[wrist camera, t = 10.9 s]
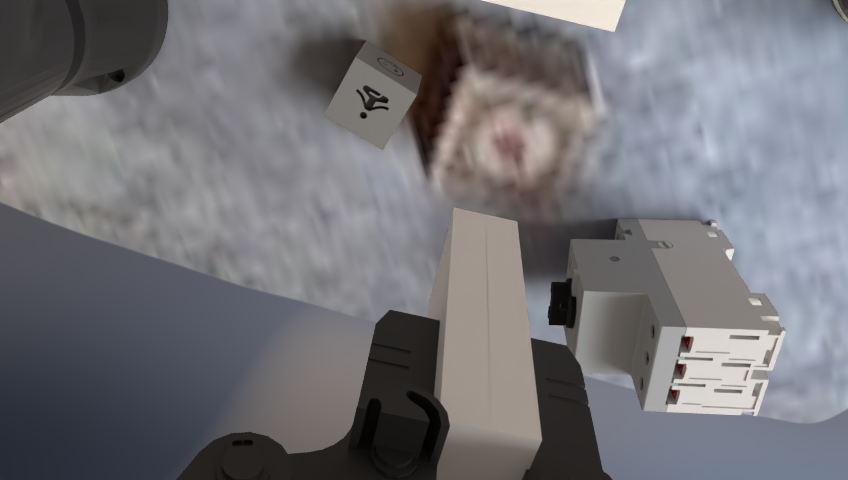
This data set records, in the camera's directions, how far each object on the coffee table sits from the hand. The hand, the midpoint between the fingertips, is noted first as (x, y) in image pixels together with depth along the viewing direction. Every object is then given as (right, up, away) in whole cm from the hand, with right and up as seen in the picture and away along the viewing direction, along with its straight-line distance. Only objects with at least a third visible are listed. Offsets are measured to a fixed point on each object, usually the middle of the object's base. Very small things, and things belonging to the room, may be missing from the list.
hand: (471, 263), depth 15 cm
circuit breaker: (+16, -1, +41) cm, 45 cm away
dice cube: (-5, +13, +35) cm, 38 cm away
